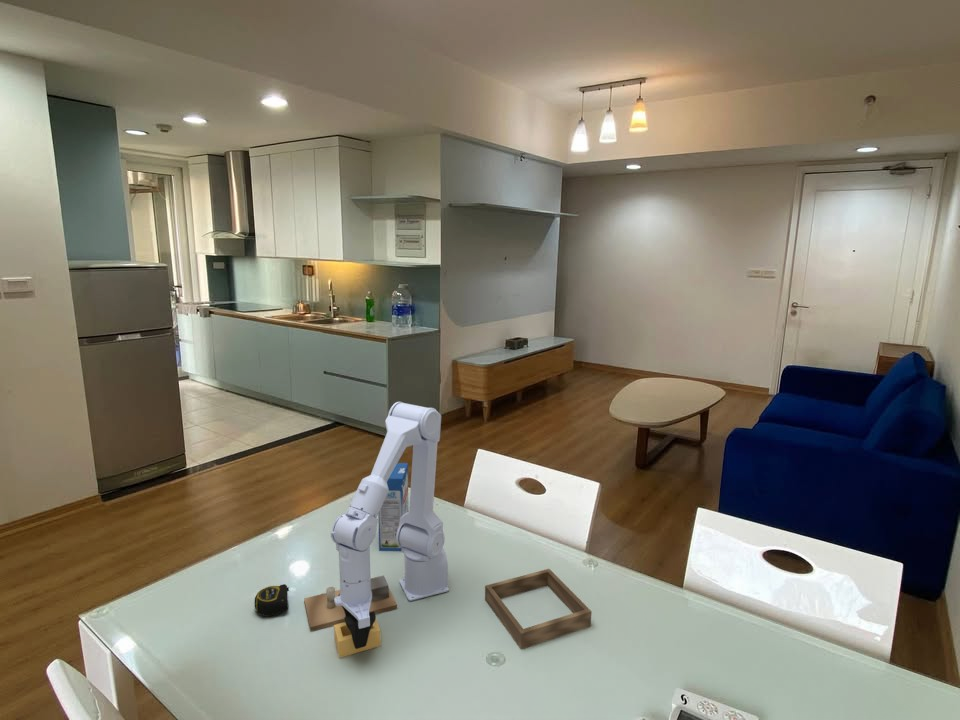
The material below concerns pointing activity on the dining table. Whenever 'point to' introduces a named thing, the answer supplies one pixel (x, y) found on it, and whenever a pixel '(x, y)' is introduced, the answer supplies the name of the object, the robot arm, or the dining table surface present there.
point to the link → (346, 642)
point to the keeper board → (328, 614)
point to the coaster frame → (543, 630)
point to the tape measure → (272, 600)
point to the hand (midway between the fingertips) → (357, 636)
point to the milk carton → (393, 508)
